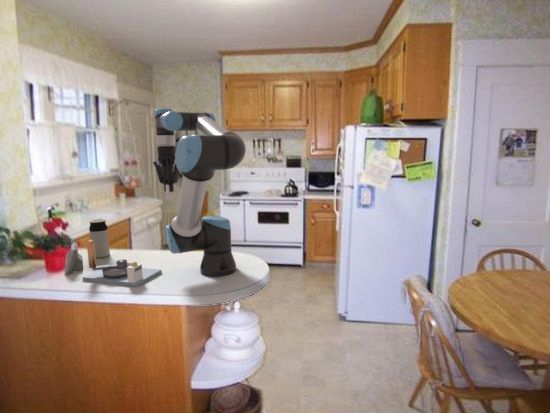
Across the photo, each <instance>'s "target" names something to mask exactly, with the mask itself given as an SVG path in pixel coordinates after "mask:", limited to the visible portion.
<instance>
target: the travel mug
mask: <svg viewBox="0 0 550 413" xmlns="http://www.w3.org/2000/svg"><path fill="white" fill-rule="evenodd" d="M106 220H107V219H106V218H95V219H90V220H89V221H88V222H89V226H88V228H89V229H88V230H89V240H94V248H95V258H96V259H102V258H103V257H104V258H107V257H109V256H110V255H111V251H110V241H109V231H108V230H109V229H108V225H107V223H106Z"/></svg>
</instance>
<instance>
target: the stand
mask: <svg viewBox="0 0 550 413" xmlns="http://www.w3.org/2000/svg"><path fill="white" fill-rule="evenodd" d="M130 263H131V266H129V267H127V275H128V276H125V277H120V278H105V277H103V272H102V270H94V271H92V272H91V273H89V274H87V275H84V276H82V281H83V282H88V283H89V282H90V283H92V282H93V283H98V284H99V283H101V284H108V285H118V286H125V287H134V288H138V287H140V286H142V285H143V284H145V283H147V282H148V281H150V280H153V279H155V277H158V276H159V275H161V274H162V272H163V270H162V269H160V268H159V269H157V268H156V269H155V268H147V267H143V264H142V263H138V262H137V261H133V262H130Z"/></svg>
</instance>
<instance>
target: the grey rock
mask: <svg viewBox="0 0 550 413" xmlns="http://www.w3.org/2000/svg"><path fill="white" fill-rule="evenodd" d="M73 242H74V243H73V244H72V245H71V244H70V246H71V249H70V248H69V250H70V253H69V252H68V253H69V254H68V253H67V257H66V260H67V261H66V260H65V264H66V266H65V267H64V273H66V274H67V275H69V274H71V273H72V272H80V271H83V270H84V260H83V256H82V254H80V253H78V250H79V246H78V245H79V244H78V243H77V242H76V241H73Z"/></svg>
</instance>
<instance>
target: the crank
mask: <svg viewBox="0 0 550 413" xmlns="http://www.w3.org/2000/svg"><path fill="white" fill-rule="evenodd" d="M86 247H87V248H86V249H87V250H86V251H87V260H88V266H89V269H91V270H92V272H94V271H98V270H102V272H103V277H105V278H120V277H125V276H128V275H127V267H129V266H131V263H132V262H128V260H127V259H118V260H116V263H111V264H104V265H103V264H102V265H97V260H96V259H97V258H95V248H94V240H90V239H88V240H86Z"/></svg>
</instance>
